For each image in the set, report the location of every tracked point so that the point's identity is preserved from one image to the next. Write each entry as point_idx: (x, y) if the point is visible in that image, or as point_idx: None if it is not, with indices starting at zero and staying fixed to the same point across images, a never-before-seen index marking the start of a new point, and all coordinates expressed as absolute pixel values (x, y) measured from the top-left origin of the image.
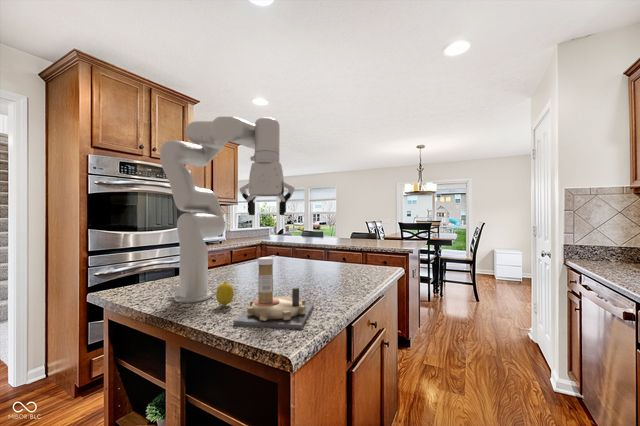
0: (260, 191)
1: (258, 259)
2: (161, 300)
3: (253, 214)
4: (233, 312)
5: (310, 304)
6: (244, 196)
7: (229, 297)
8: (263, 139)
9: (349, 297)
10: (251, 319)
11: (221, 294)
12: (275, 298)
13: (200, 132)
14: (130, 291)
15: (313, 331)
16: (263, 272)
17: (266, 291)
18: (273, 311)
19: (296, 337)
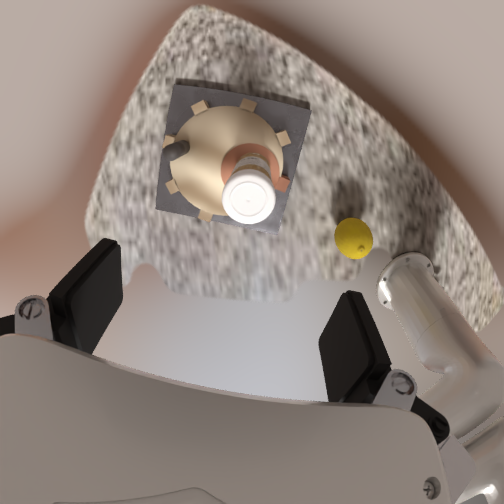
0: (272, 441)
1: (273, 187)
2: (446, 270)
3: (327, 325)
4: (323, 184)
5: (161, 201)
6: (432, 418)
7: (341, 223)
8: None
9: None
10: (275, 113)
11: (360, 222)
12: None
13: None
14: (476, 315)
15: (156, 79)
16: (254, 166)
17: (247, 157)
18: (227, 108)
19: (185, 54)
